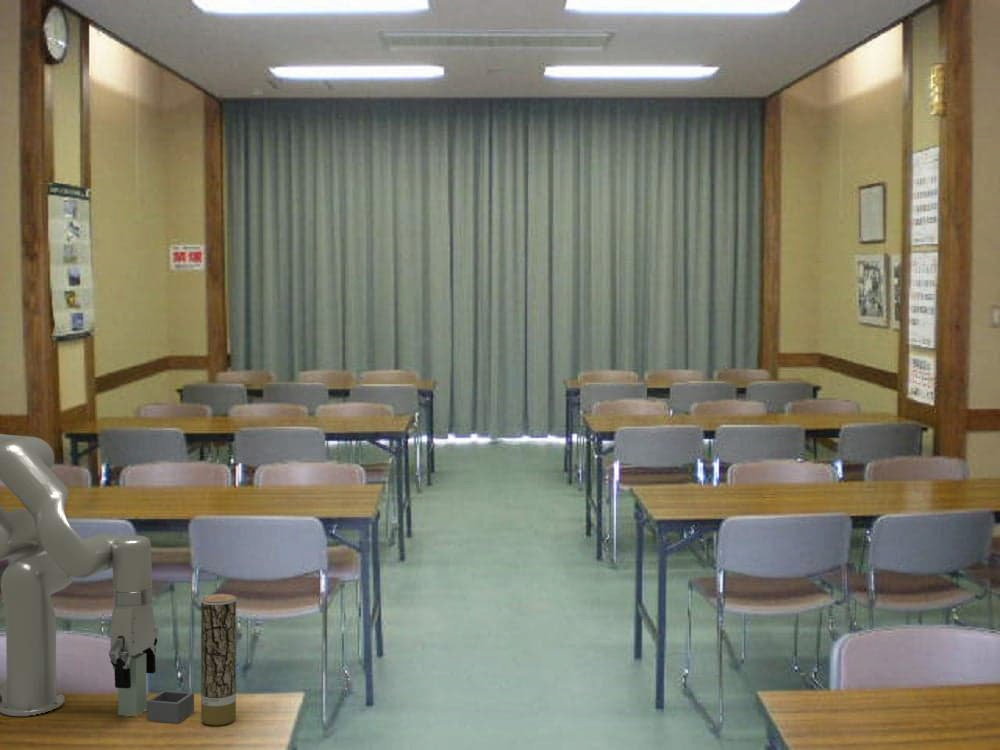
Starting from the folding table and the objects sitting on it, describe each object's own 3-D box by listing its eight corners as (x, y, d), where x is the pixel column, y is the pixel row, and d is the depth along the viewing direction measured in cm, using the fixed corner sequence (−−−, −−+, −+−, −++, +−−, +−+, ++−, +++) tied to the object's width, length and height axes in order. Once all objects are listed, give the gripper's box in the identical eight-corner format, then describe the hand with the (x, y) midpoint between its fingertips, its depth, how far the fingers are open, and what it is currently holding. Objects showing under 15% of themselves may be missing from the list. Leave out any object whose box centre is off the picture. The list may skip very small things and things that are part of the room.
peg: (118, 715, 225) (118, 657, 225) (128, 709, 229) (128, 651, 229) (136, 717, 224) (136, 658, 224) (146, 710, 228) (146, 653, 228)
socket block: (146, 720, 222) (146, 701, 222) (163, 709, 229) (163, 690, 229) (177, 723, 221) (177, 704, 221) (193, 712, 228) (193, 692, 228)
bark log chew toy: (226, 728, 219) (227, 603, 218) (195, 725, 220) (195, 601, 219) (241, 716, 226) (241, 595, 224) (210, 713, 227) (210, 593, 226)
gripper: (138, 586, 235) (140, 666, 236) (92, 607, 218) (95, 693, 219) (170, 587, 233) (173, 668, 234) (127, 608, 216) (130, 694, 217)
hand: (135, 680), depth 226 cm, fingers open, 9 cm apart
